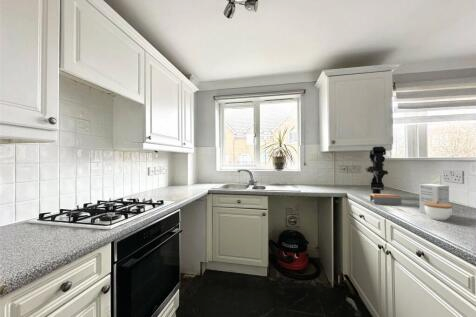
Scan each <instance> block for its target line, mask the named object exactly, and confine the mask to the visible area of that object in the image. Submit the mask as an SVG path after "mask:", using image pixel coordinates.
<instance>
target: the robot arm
mask: <svg viewBox="0 0 476 317" xmlns="http://www.w3.org/2000/svg"><path fill="white" fill-rule="evenodd" d="M386 150H387V149H386V148H385V146H381V145H380V146H373V147H372V148H371V150H370V151H369V156H368V158H369V160H370V162H371V163H372V165H371V166H368V167H365V171H366V173H370V174H372V179H371V181H370V185H369V186H370V187H369V188H370V190H371V191H372V192H371V194H382V191H383V190H384V189H385V187H384V186H385V184H384V182H383V177H384V176H385V175H389V172H388V170H386V169H384V166H385V164H384V162H385V160H386V157H385V156H386V155H387V151H386Z"/></svg>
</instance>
